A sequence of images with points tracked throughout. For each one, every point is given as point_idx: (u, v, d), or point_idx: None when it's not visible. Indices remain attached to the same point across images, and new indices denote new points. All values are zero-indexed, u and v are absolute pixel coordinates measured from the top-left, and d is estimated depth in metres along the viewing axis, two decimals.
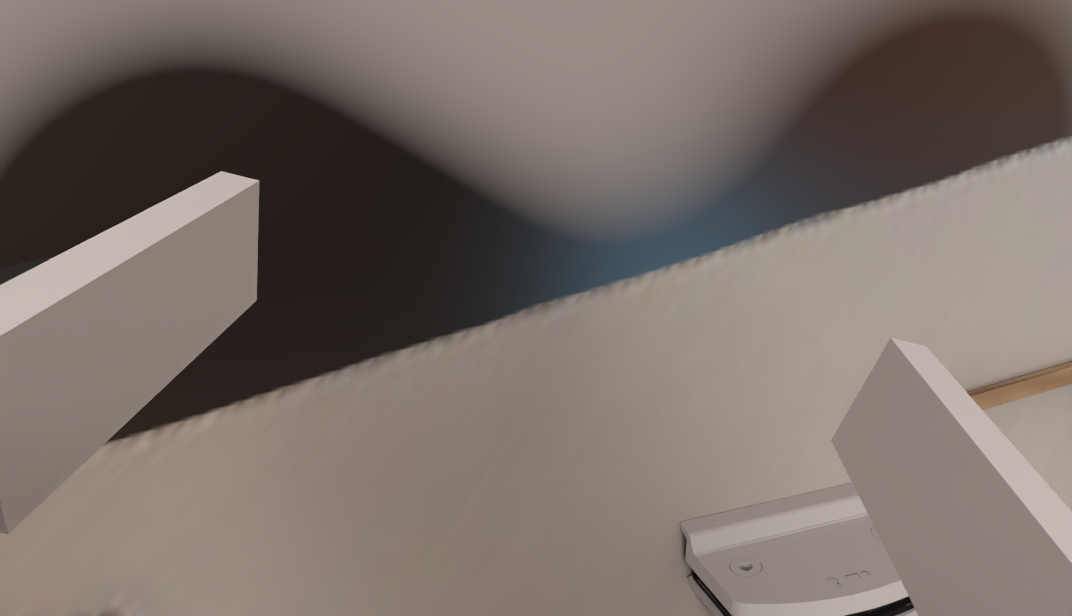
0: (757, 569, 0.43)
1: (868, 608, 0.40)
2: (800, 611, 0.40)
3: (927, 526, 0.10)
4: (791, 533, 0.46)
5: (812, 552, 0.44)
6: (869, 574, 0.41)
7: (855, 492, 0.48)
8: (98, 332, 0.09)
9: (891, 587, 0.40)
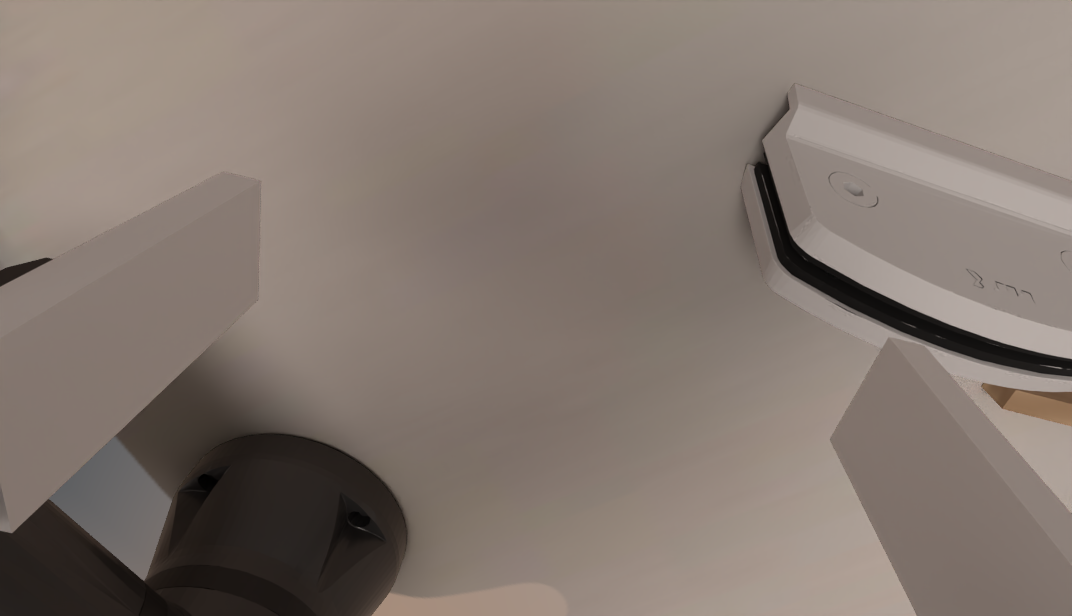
0: (869, 202, 0.25)
1: (995, 338, 0.24)
2: (899, 285, 0.23)
3: (925, 524, 0.10)
4: (942, 190, 0.28)
5: (961, 228, 0.26)
6: (1033, 301, 0.24)
7: None
8: (101, 332, 0.09)
9: (1054, 333, 0.23)
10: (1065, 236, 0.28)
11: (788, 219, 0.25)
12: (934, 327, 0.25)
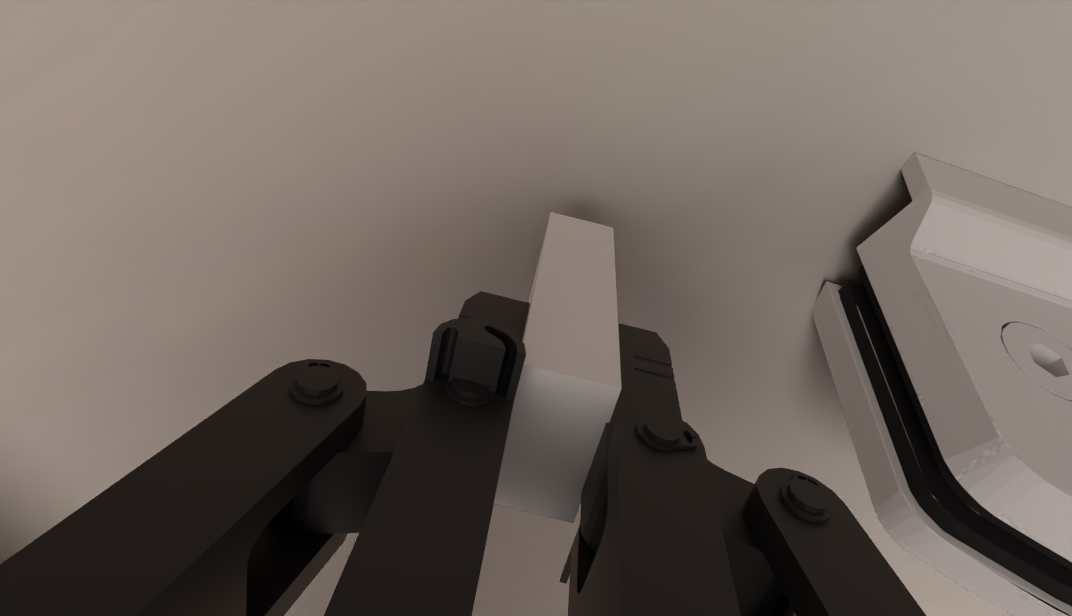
0: None
1: None
2: None
3: None
4: None
5: None
6: None
7: None
8: None
9: None
10: None
11: (936, 427, 0.13)
12: None
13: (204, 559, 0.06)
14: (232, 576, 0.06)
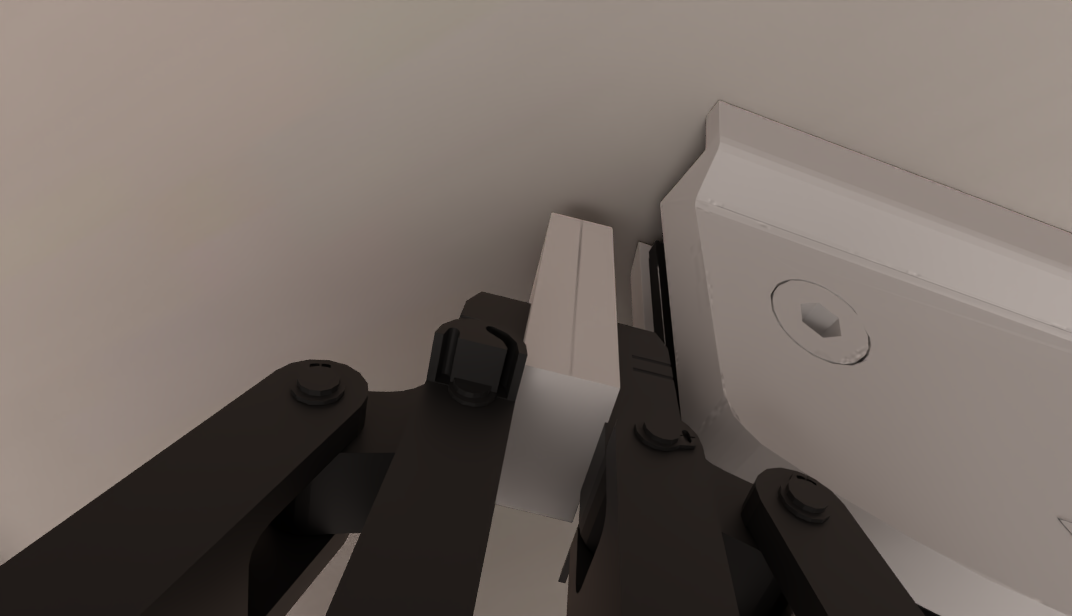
0: (851, 351, 0.12)
1: None
2: (915, 571, 0.10)
3: None
4: (990, 311, 0.15)
5: (1035, 402, 0.13)
6: None
7: None
8: None
9: None
10: None
11: (682, 388, 0.12)
12: None
13: (206, 560, 0.06)
14: (233, 577, 0.06)
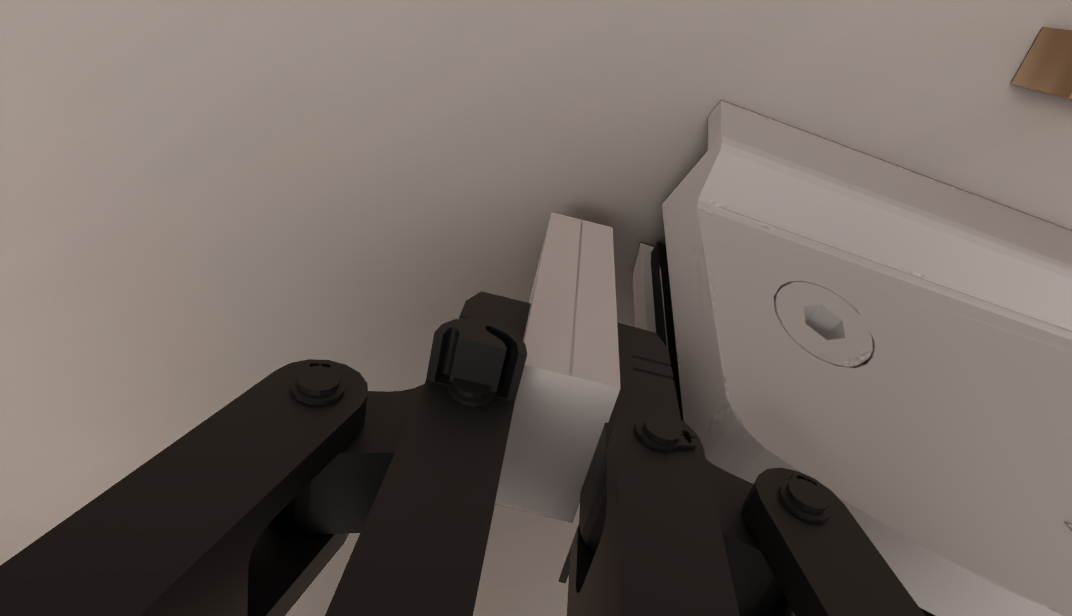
0: (855, 354, 0.12)
1: None
2: (920, 576, 0.10)
3: None
4: (996, 312, 0.14)
5: (1041, 404, 0.13)
6: None
7: None
8: None
9: None
10: None
11: (685, 391, 0.12)
12: None
13: (205, 560, 0.06)
14: (233, 577, 0.06)
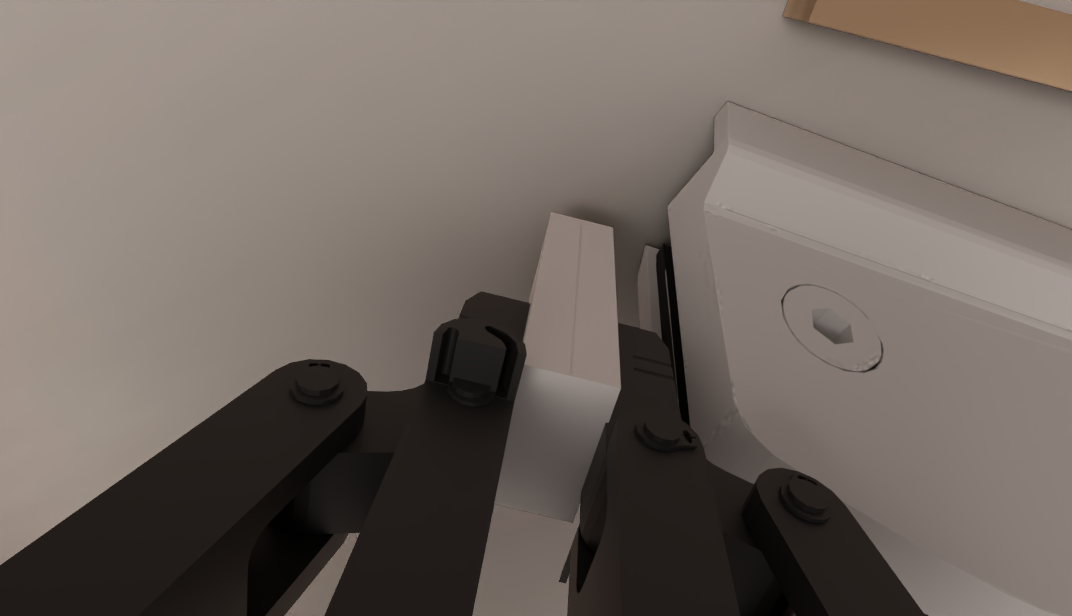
0: (864, 358, 0.12)
1: None
2: (931, 585, 0.10)
3: None
4: (1005, 315, 0.14)
5: (1052, 409, 0.13)
6: None
7: None
8: None
9: None
10: None
11: (691, 396, 0.12)
12: None
13: (205, 559, 0.06)
14: (233, 576, 0.06)
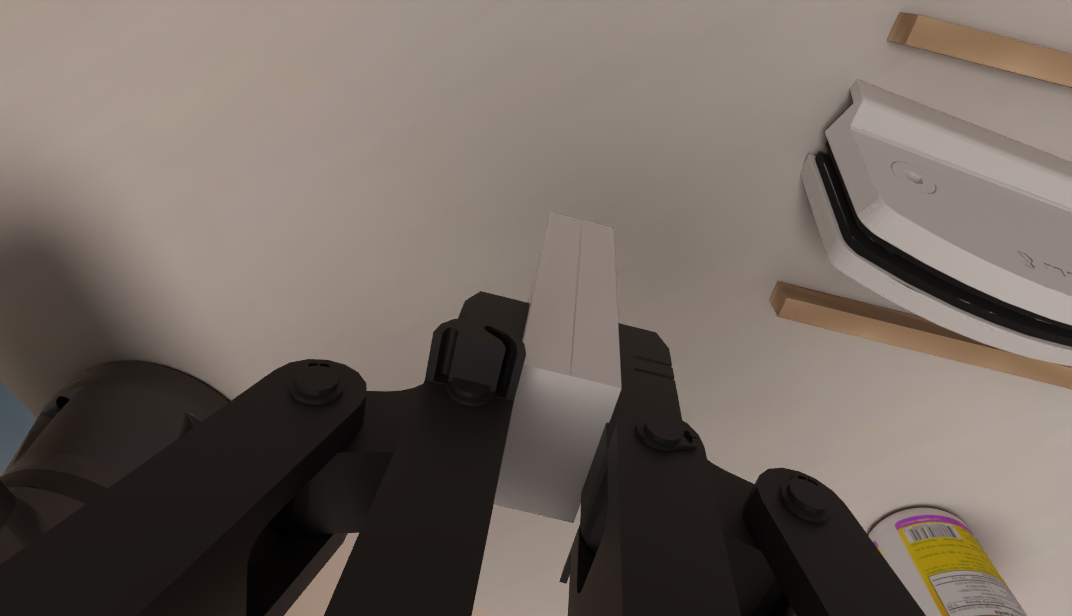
0: (928, 189, 0.28)
1: (1043, 314, 0.26)
2: (958, 263, 0.26)
3: None
4: (991, 181, 0.30)
5: (1011, 216, 0.28)
6: None
7: None
8: None
9: None
10: None
11: (855, 203, 0.27)
12: (986, 304, 0.27)
13: (204, 559, 0.06)
14: (232, 576, 0.06)
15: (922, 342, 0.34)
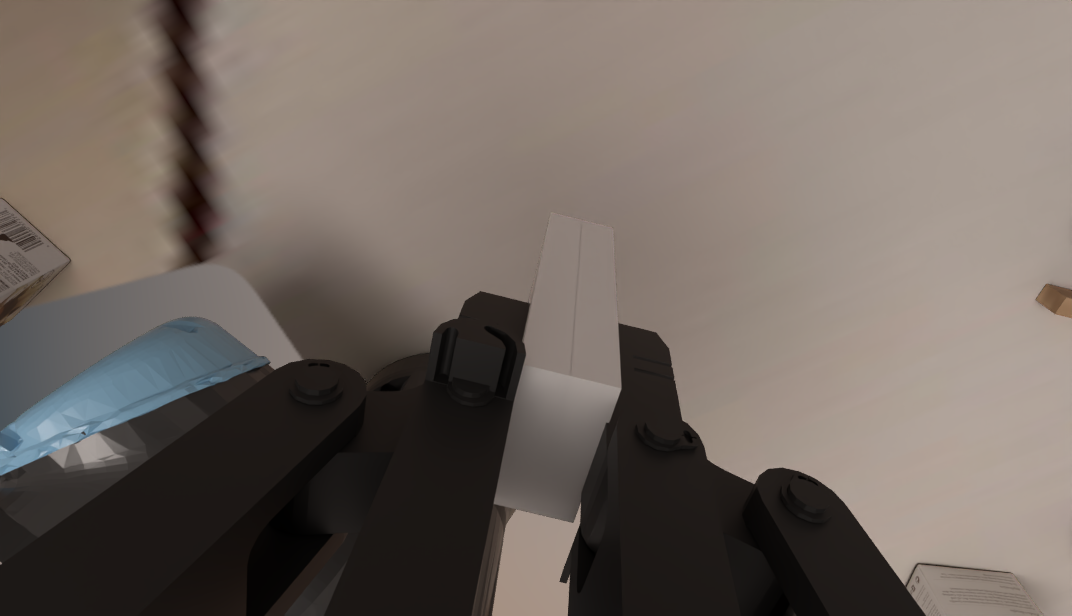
0: None
1: None
2: None
3: None
4: None
5: None
6: None
7: None
8: None
9: None
10: None
11: None
12: None
13: (204, 559, 0.06)
14: (232, 576, 0.06)
15: None
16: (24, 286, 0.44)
